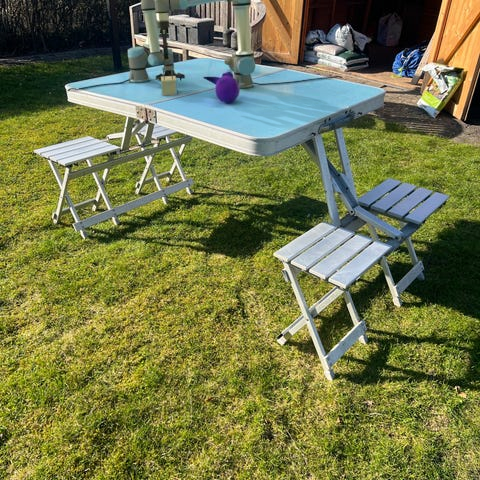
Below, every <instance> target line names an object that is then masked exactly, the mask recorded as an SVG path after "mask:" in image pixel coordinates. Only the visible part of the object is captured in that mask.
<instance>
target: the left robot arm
mask: <svg viewBox="0 0 480 480" xmlns="http://www.w3.org/2000/svg"><path fill="white" fill-rule="evenodd" d="M140 6H141V7H140V9H141V12H142V13H143V16H144V17H143V18H144V23H145V29H146V38H145V39H146V40H145V41H144V42H143V44H142V46H133V47H130V48H128V49H127V57H128V66H129V76H128V79H126V80H123V81H120V82H110V83H101V84H95V85H94V84H93V85H89V86H83V87H79V89H76V88H74V87H69V88H68V89H67V92H69V91H72V90H73V91H78V90H84V89H90V88H95V87H103V86H110V85H111V86H112V85H120V84H125V83H127V82H129V83H133V84H141V83H148V82H150V76H149V74H148V71H147V67H146V65H149V66H152V67H154V66H156V67H157V66H161V65H163V68H166V67H172V72H173V76H175V77H176V79H179V81H182V79H183V80H184V79H186V75H185V74H184V73H180V72H177V73H176V72H175V62H174V53H173V49H172V48H168V57H169V59H164V51H163V49H162V50H161V45H160V40H159V39H160V35H161V30H162V28H158V27H157V21H158V20H157V19H156V8H155V0H141V1H140ZM164 76H172V73H171V70H164ZM161 77H163V72H162V73H160V74H157V75H155V80H158V81H159V82H161Z"/></svg>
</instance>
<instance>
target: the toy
mask: <svg viewBox="0 0 480 480" xmlns="http://www.w3.org/2000/svg"><path fill="white" fill-rule="evenodd" d="M233 77H234V73H233V72H231V71H227V72H224V73H222V74H221V76H203V79H205V80H206V81H208V82H210V83H212V84H214V85H215V88H214V89H215V90H214V91H215V95H216V99H218V100H219V101H220V102H221V103H226V104H228V103H230V104H231V103H233V102H234V101H236V99H237V98H238V97H239V95H240V92H241V89H240V88H239V84H238V82H237V81H236V79H234V78H233Z"/></svg>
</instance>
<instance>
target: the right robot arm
mask: <svg viewBox="0 0 480 480" xmlns="http://www.w3.org/2000/svg"><path fill="white" fill-rule="evenodd" d="M223 1H225V2H228V3H229V2H231V5H232V8H233V10H234V13H235V14H234V15H235V28H236V41H237V43H236V44H237V50H236V52H234V51H233V53H234V56H233V57H234V71H233V78H234V79H236V81H237V82H238V84H239V89H240V90H241V89H250V88H253V87H254V85H258V86H266V85H267V86H268V85H284V84H294V83H302V82H309V81H315V80H324V79H325V80H327V79H335V78H340V79H343V77H342V76H340V75H334V76H325V77H316V78H307V79H301V80H294V81H284V82H283V81H282V82H265V83H264V82H263V83H259V82H254V81H253V78H252V74H253V73H254V72H255V69H256V62H255V55H254V54H255V52H254V51H253V50H252V44H251V43H252V42H251V41H252V40H251V25H250V24H251V22H250V21H251V20H250V8H251V6H252V0H155V8H156V19H157V20H158V21H157V27H158V28H161V30H160V35H161V39H162V46H161V49H162V50H163V51H164V59H169V57H168V49H169V47H168V46H169V43H168V30H167V29H169V28H170V21H169V19H170V18H169V17H170V14H169V11H171V10H172V11H174V10H187V9H188V7H193V6H200V5H205V4H211V3H217V2H223Z"/></svg>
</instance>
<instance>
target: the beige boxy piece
mask: <svg viewBox="0 0 480 480" xmlns="http://www.w3.org/2000/svg"><path fill="white" fill-rule="evenodd" d="M164 70H171V73H172V76H164V74H165V73H164ZM162 74H163V77H161V81H160V82H170V81H176V82H177V78H176V77H175V76H173V72H172V67H166V68H164V67H162Z"/></svg>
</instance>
